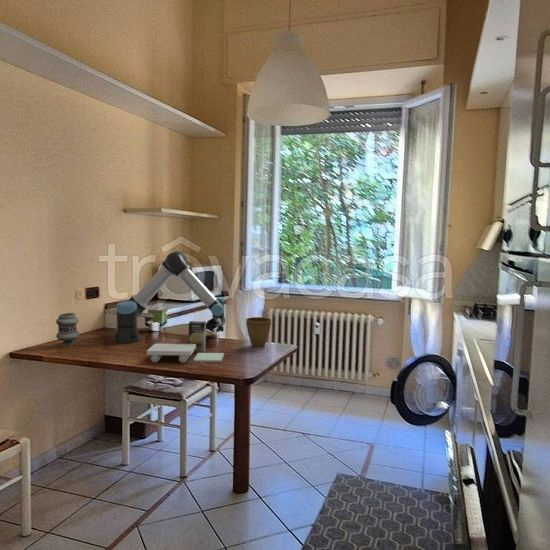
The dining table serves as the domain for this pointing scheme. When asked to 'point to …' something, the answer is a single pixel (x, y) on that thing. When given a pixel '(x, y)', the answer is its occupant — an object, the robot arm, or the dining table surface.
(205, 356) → the pad
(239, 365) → the dining table surface
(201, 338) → the coffee box
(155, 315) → the tea box
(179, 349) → the slab on rollers
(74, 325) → the apothecary jar
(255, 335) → the plant pot
